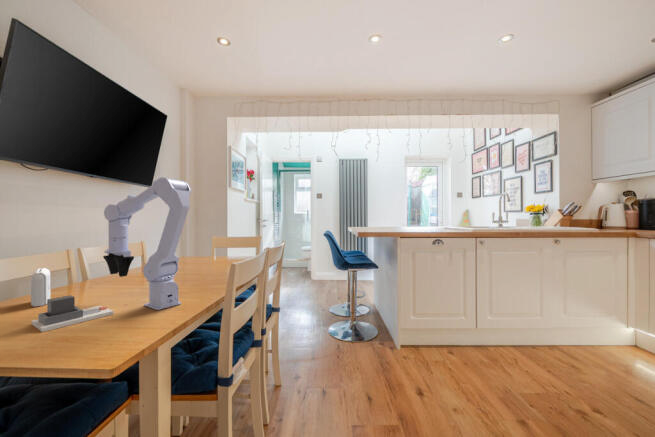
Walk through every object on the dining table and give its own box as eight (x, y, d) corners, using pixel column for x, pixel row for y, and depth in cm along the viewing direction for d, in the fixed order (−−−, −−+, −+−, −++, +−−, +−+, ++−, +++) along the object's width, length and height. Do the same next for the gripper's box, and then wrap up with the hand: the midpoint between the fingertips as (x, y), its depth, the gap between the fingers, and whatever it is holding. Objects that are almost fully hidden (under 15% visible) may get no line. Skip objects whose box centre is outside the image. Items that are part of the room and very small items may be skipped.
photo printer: (35, 300, 100) (34, 267, 100) (51, 298, 103) (51, 265, 103) (29, 308, 92) (29, 271, 92) (47, 305, 95) (47, 269, 95)
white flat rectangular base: (113, 314, 87) (113, 304, 87) (41, 332, 73) (41, 320, 73) (100, 308, 92) (100, 299, 92) (31, 324, 79) (31, 313, 79)
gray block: (74, 317, 81) (74, 297, 81) (51, 322, 77) (51, 301, 77) (70, 314, 83) (70, 295, 83) (47, 320, 79) (47, 299, 79)
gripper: (97, 237, 101) (97, 274, 101) (114, 239, 93) (114, 279, 93) (119, 236, 107) (119, 271, 107) (137, 238, 99) (137, 275, 99)
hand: (118, 275), depth 101 cm, fingers open, 7 cm apart
